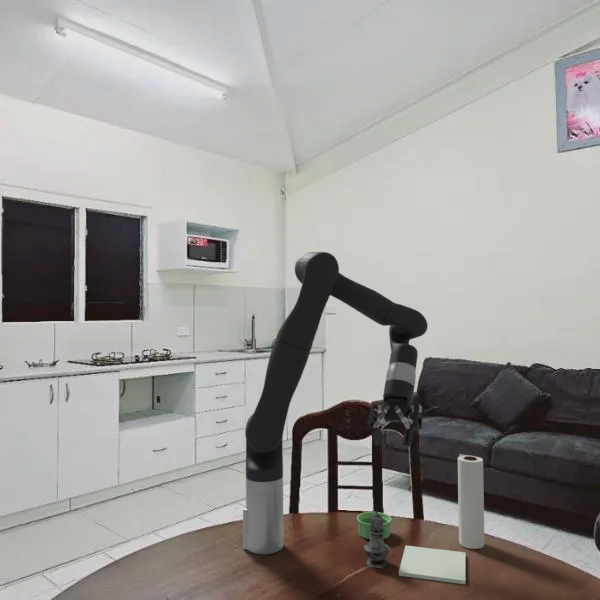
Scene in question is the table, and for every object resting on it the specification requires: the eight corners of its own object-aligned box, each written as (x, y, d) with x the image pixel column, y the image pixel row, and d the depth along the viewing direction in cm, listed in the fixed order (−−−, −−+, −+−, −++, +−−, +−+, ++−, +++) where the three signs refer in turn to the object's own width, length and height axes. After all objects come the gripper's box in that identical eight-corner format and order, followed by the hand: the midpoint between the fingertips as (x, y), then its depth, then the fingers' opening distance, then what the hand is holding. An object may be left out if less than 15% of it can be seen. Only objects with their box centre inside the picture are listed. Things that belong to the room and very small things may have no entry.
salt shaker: (389, 570, 121) (388, 516, 121) (363, 568, 122) (362, 514, 122) (390, 558, 126) (389, 507, 127) (365, 556, 128) (364, 505, 128)
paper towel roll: (483, 551, 130) (482, 462, 130) (457, 547, 132) (456, 459, 132) (485, 539, 136) (484, 454, 137) (460, 536, 139) (459, 452, 139)
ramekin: (353, 529, 144) (353, 512, 144) (386, 527, 145) (386, 510, 145) (361, 543, 135) (361, 525, 135) (396, 541, 136) (395, 523, 136)
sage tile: (398, 575, 118) (398, 571, 118) (405, 548, 132) (405, 545, 132) (465, 584, 114) (465, 580, 114) (465, 555, 127) (465, 552, 127)
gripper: (369, 379, 142) (358, 439, 135) (417, 376, 133) (408, 441, 126) (384, 389, 147) (374, 448, 140) (431, 387, 137) (424, 451, 130)
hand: (391, 445), depth 133 cm, fingers open, 8 cm apart
